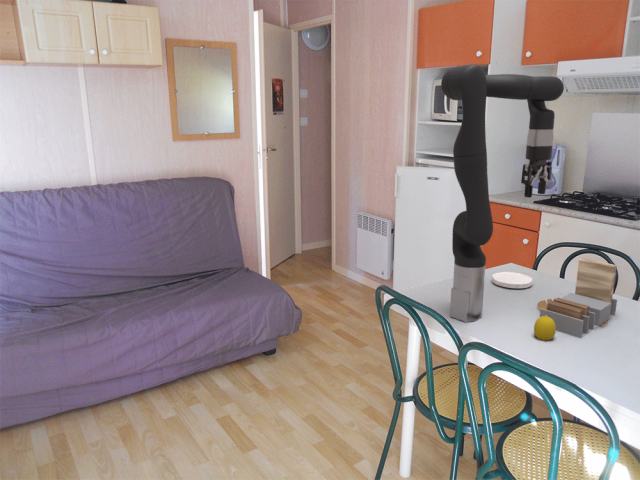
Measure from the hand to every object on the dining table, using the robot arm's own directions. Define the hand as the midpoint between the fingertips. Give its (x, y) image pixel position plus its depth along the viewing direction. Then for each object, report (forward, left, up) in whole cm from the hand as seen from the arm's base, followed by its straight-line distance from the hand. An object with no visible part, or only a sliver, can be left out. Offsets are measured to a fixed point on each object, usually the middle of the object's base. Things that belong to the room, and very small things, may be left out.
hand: (534, 195), depth 164 cm
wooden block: (+4, -20, -35) cm, 40 cm away
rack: (-6, -20, -36) cm, 42 cm away
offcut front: (-16, -20, -35) cm, 43 cm away
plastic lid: (+13, +12, -37) cm, 41 cm away
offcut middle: (-12, -20, -35) cm, 42 cm away
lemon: (-25, -19, -36) cm, 48 cm away
